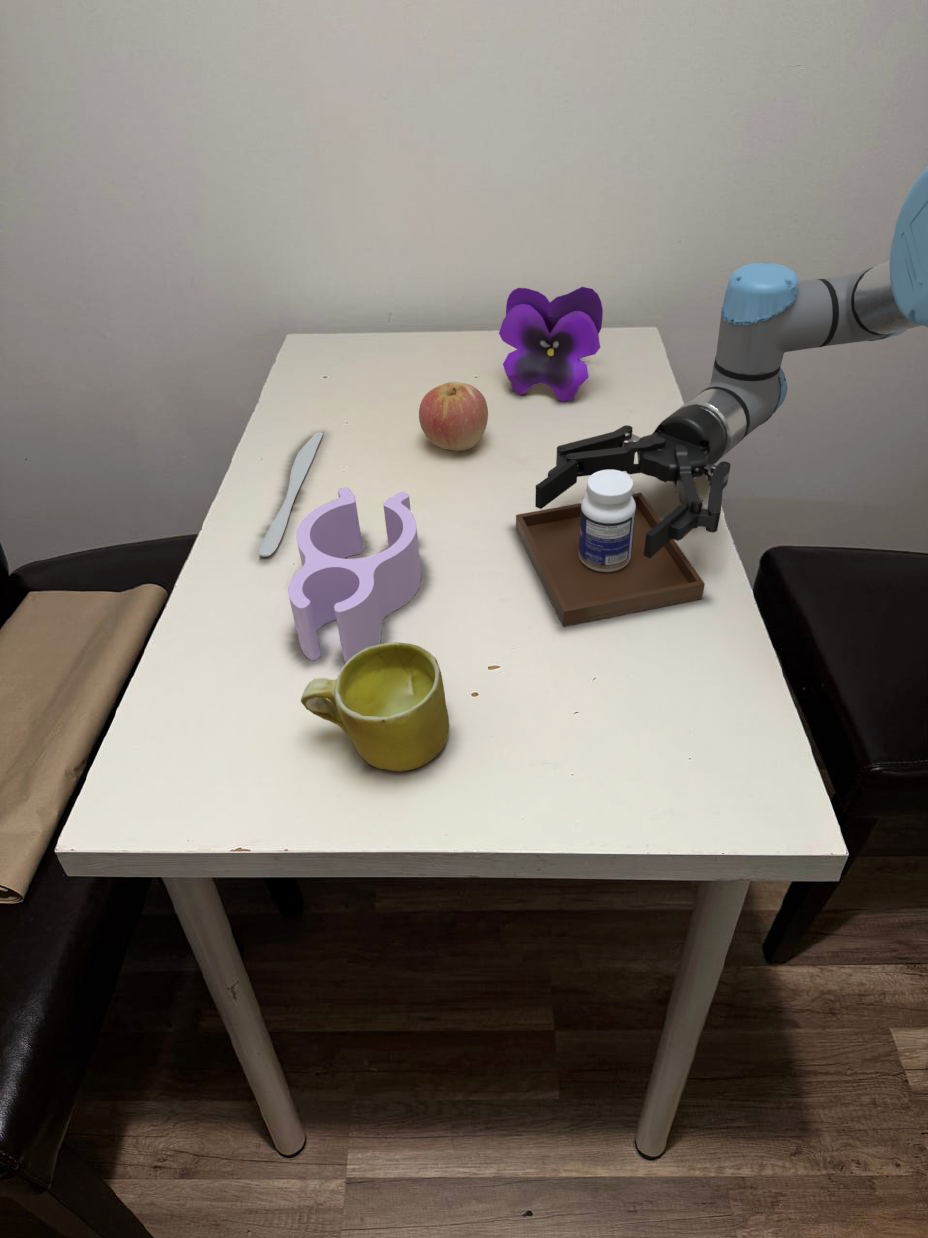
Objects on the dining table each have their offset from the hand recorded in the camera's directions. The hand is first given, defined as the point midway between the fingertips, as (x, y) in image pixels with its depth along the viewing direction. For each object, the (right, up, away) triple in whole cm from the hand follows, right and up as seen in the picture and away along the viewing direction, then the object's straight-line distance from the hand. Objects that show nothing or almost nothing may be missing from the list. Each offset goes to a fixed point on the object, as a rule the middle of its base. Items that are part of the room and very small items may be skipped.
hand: (590, 521), depth 91 cm
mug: (-20, -21, -10) cm, 31 cm away
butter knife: (-34, +6, +20) cm, 40 cm away
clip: (-24, -8, +4) cm, 26 cm away
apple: (-14, +13, +26) cm, 33 cm away
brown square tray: (+2, -4, +7) cm, 8 cm away
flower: (0, +25, +39) cm, 46 cm away
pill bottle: (+2, -3, +7) cm, 8 cm away
